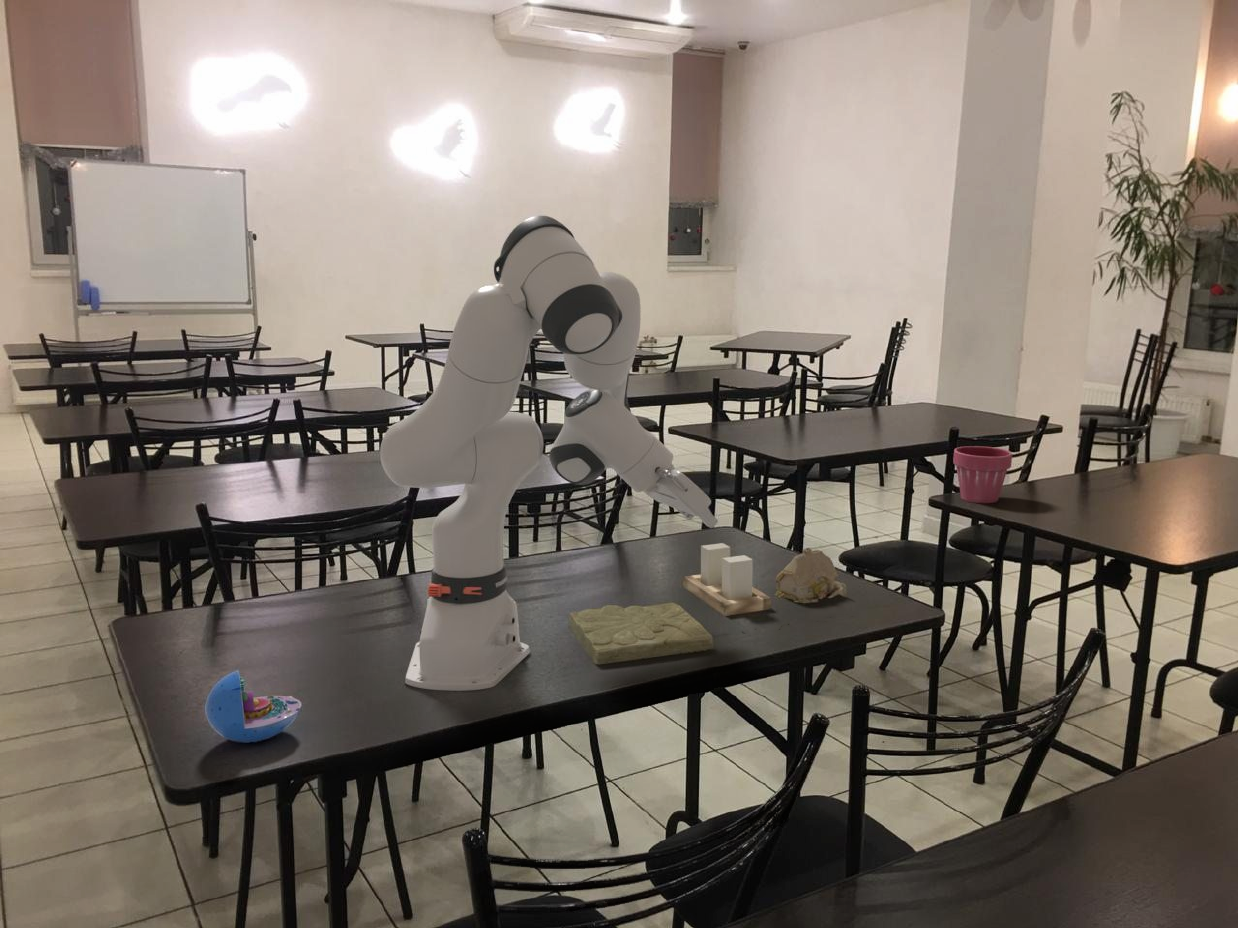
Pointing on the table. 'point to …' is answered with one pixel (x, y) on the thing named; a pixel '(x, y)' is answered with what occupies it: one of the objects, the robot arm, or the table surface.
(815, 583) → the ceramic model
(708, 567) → the white upright prism
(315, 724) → the table surface
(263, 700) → the cell model
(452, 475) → the robot arm
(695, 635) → the decorative tile
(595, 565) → the table surface
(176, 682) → the table surface
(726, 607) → the rack
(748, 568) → the white rectangular block
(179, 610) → the table surface
